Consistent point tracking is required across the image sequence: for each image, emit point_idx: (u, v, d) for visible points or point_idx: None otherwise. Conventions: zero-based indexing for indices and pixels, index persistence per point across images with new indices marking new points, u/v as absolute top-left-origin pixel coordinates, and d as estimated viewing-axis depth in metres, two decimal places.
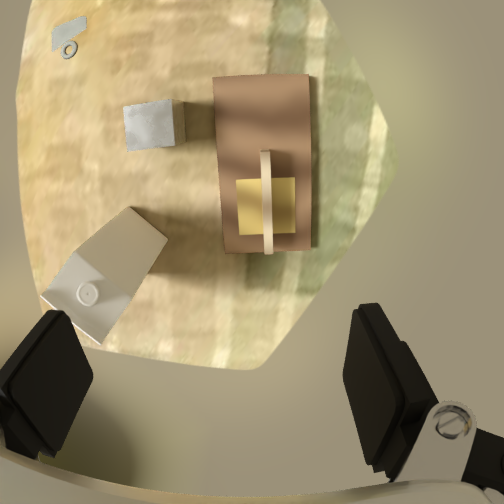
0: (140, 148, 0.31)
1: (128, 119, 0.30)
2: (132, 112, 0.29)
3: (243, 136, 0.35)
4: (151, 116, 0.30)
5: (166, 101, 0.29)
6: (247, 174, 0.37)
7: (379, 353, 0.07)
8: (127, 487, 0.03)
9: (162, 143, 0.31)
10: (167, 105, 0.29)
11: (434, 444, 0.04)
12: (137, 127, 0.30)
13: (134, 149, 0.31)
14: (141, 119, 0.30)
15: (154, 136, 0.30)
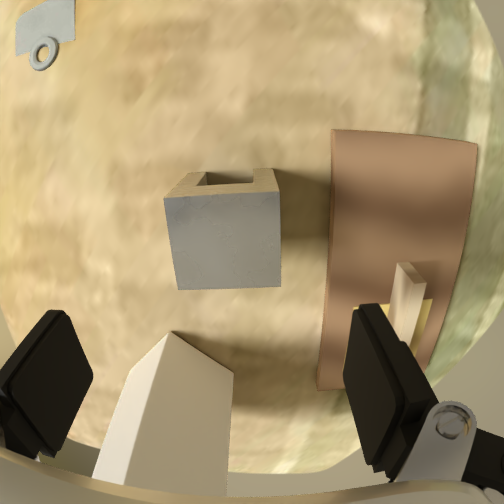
0: (206, 286, 0.16)
1: (176, 227, 0.15)
2: (186, 212, 0.15)
3: (377, 242, 0.20)
4: (231, 226, 0.15)
5: (267, 195, 0.14)
6: (371, 299, 0.22)
7: (379, 353, 0.07)
8: (127, 487, 0.03)
9: (255, 281, 0.16)
10: (269, 205, 0.15)
11: (434, 444, 0.04)
12: (199, 246, 0.15)
13: (193, 287, 0.16)
14: (208, 230, 0.15)
15: (238, 267, 0.16)
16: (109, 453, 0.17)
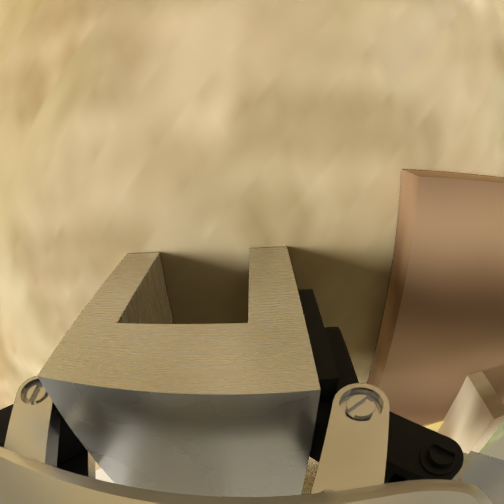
0: None
1: (81, 425, 0.05)
2: (90, 410, 0.05)
3: (449, 357, 0.11)
4: (197, 442, 0.05)
5: (286, 399, 0.05)
6: (422, 420, 0.13)
7: None
8: (127, 487, 0.03)
9: (252, 495, 0.07)
10: (290, 414, 0.05)
11: (347, 429, 0.05)
12: (135, 456, 0.06)
13: None
14: (146, 441, 0.06)
15: (218, 483, 0.06)
16: None
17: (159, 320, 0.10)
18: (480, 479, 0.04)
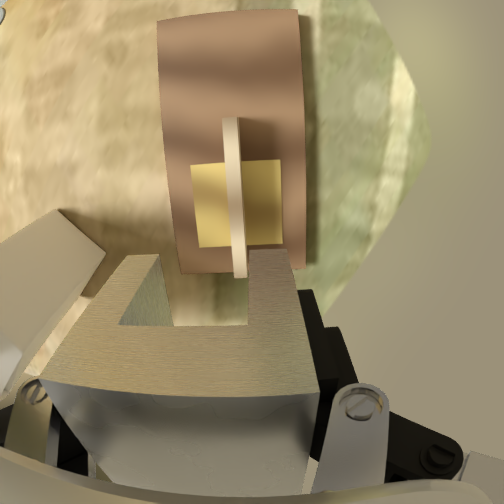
0: None
1: (81, 426, 0.05)
2: (91, 412, 0.05)
3: (200, 99, 0.22)
4: (197, 444, 0.05)
5: (286, 401, 0.05)
6: (207, 156, 0.24)
7: None
8: (127, 487, 0.03)
9: (252, 496, 0.07)
10: (290, 416, 0.05)
11: (347, 429, 0.05)
12: (135, 457, 0.06)
13: None
14: (146, 442, 0.06)
15: (218, 484, 0.06)
16: None
17: (159, 322, 0.10)
18: (480, 479, 0.04)
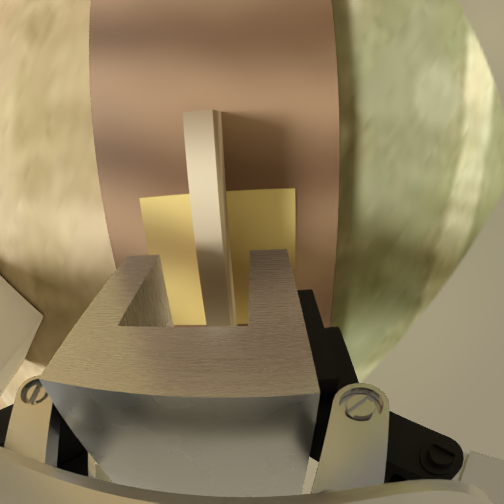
0: None
1: (82, 427, 0.05)
2: (91, 412, 0.05)
3: (153, 83, 0.12)
4: (197, 444, 0.05)
5: (286, 402, 0.05)
6: (167, 183, 0.14)
7: None
8: (127, 487, 0.03)
9: (252, 496, 0.07)
10: (290, 417, 0.05)
11: (347, 429, 0.05)
12: (136, 457, 0.06)
13: None
14: (147, 443, 0.06)
15: (218, 484, 0.06)
16: None
17: (159, 322, 0.10)
18: (480, 479, 0.04)
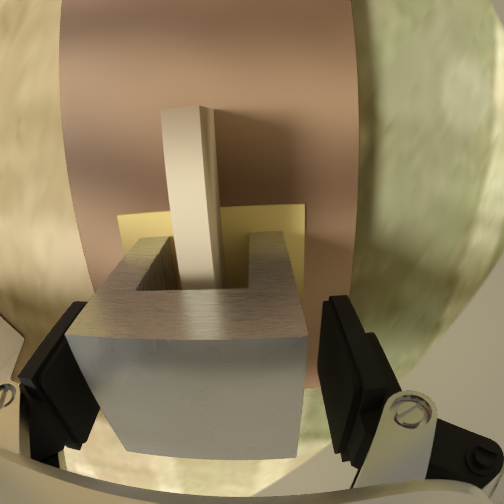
0: (171, 454, 0.08)
1: (100, 382, 0.07)
2: (111, 364, 0.06)
3: (132, 75, 0.09)
4: (204, 391, 0.07)
5: (280, 344, 0.06)
6: (149, 197, 0.11)
7: (342, 342, 0.07)
8: (127, 487, 0.03)
9: (252, 455, 0.08)
10: (284, 360, 0.06)
11: (394, 435, 0.05)
12: (146, 411, 0.07)
13: (150, 453, 0.08)
14: (158, 393, 0.07)
15: (221, 440, 0.08)
16: None
17: None
18: None
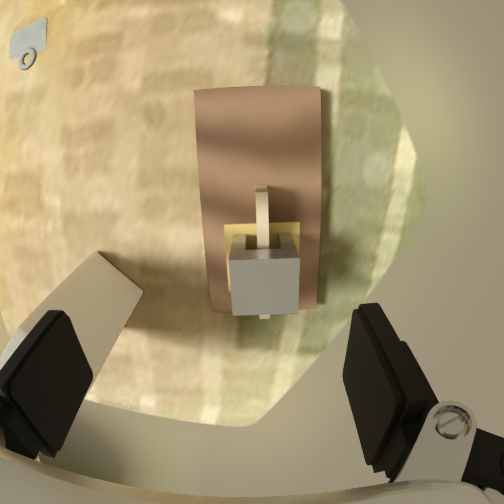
0: (251, 313, 0.26)
1: (235, 277, 0.25)
2: (242, 269, 0.24)
3: (233, 168, 0.28)
4: (270, 277, 0.25)
5: (292, 260, 0.24)
6: (238, 218, 0.29)
7: (379, 353, 0.07)
8: (127, 487, 0.03)
9: (282, 310, 0.26)
10: (293, 265, 0.24)
11: (434, 444, 0.04)
12: (249, 289, 0.25)
13: (243, 314, 0.26)
14: (255, 279, 0.25)
15: (272, 301, 0.26)
16: None
17: None
18: None
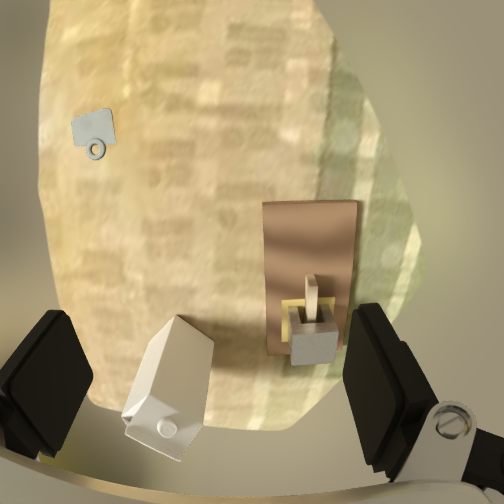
0: (304, 364, 0.37)
1: (296, 344, 0.36)
2: (301, 339, 0.36)
3: (291, 263, 0.38)
4: (318, 343, 0.36)
5: (334, 333, 0.35)
6: (292, 295, 0.40)
7: (379, 353, 0.07)
8: (127, 487, 0.03)
9: (324, 361, 0.37)
10: (334, 336, 0.35)
11: (434, 444, 0.04)
12: (304, 350, 0.36)
13: (298, 364, 0.37)
14: (309, 345, 0.36)
15: (318, 356, 0.37)
16: (139, 383, 0.34)
17: None
18: None
